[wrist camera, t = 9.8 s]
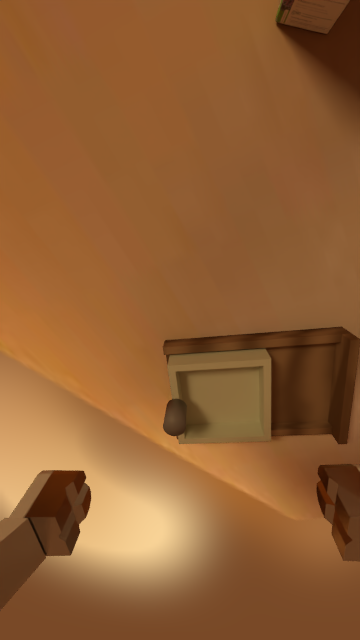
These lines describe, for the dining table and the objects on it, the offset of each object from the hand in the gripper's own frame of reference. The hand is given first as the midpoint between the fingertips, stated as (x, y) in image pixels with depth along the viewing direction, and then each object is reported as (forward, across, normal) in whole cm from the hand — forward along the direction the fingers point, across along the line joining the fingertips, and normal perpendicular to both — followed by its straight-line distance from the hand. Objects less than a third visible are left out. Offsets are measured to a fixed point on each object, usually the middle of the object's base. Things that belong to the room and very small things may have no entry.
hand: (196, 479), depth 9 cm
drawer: (+28, -1, +16) cm, 32 cm away
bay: (+29, -7, +16) cm, 34 cm away
